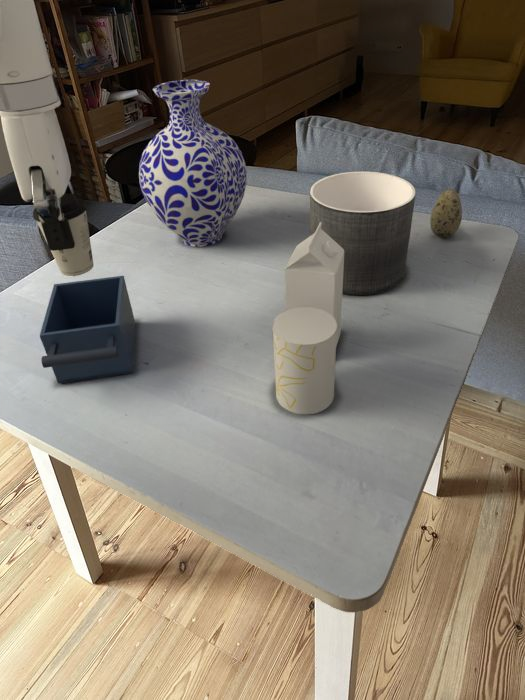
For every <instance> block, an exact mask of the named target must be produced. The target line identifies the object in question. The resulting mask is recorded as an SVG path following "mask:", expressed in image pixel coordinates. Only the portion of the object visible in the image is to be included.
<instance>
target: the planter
mask: <svg viewBox="0 0 525 700" xmlns="http://www.w3.org/2000/svg"><path fill="white" fill-rule="evenodd" d="M416 193H417V192H416V189H415V187H414V186H413V184H412V183H410V182H409V181H408V180H406V179H404V178H402V177H399V176H397V175H393V174H389V173H385V172H384V173H383V172H377V171H347V172H340V173H335V174H331V175H328V176H325V177H323V178H320V179H318V180H317V181H315V183H313V184H312V186H311V187H310V190H309V237H310V236H311V235H312V234H314V233H315V231H316V229H317V227H318V225H319V223H320V222H321V229H322V230H323V231H324V232H325V233H326V234H327V235H329V236H330V237H331V238H332V239H333V240H334V241H335V242H336V243H337V244H339V245H340V246H341V247H342V248H343V249H344V270H343V292H342V295H343V294H344V295H351V296H363V295H364V296H367V295H374V294H375V295H376V294H379V293H383V292H386V291H389V290H392V289H393V288H396V287H397V286H398V285H400V283H401V282H402V281H403V280H404V278H405V276H406V271H407V270H406V269H407V268H406V267H407V259H408V252H409V247H410V246H409V245H410V239H411V231H412V225H413V215H414V208H415V201H416Z"/></svg>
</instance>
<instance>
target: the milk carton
mask: <svg viewBox="0 0 525 700" xmlns="http://www.w3.org/2000/svg"><path fill="white" fill-rule="evenodd" d="M343 270H344V249H343V248H342V247H341V246H340V245H339V244H337V243H336V242H335V241H334V240H333V239H332V238H331V237H330V236H329V235H327V234H326V233H325V232H324V231H323V230H322V229H321V222H320V223H319V225H318V227H317V229H316V231H315V233H314V234H312V235H311V236H310V235H309V236H308V237H307V238H305V239H304V240H303V241H302V242H300V243H299V244H297V245H296V247H295V248H294V251H293V252H292V254H291V256H290V258H289V260H288V262H287V264H286V266H285V267H284V292H285V293H284V295H285V311H287V310H289V309H293V308H298V307H312V308H317V309H321V310H323V311H326V312H328V313H329V314H330V315H332V316H333V317H334V319H335V320H336V323H337V333H336V347H337V346H338V343H339V340H340V337H341V331H342V312H343V293H342V292H343Z"/></svg>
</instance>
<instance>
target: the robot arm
mask: <svg viewBox="0 0 525 700" xmlns="http://www.w3.org/2000/svg"><path fill="white" fill-rule="evenodd" d="M61 104H62V102H61V99H60V95H59V90H58V87H57V84H56V79H55V76H54V73H53V68H52V65H51V61H50V57H49V53H48V50H47V46H46V43H45V38H44V35H43V31H42V27H41V24H40V20H39V16H38V12H37V9H36V5H35V1H34V0H0V121H1V127H2V132H3V136H4V141H5V145H6V149H7V152H8V156H9V160H10V162H11V166H12V169H13V173H14V176H15V179H16V183H17V187H18V189H19V193H20V196H21V198H22V200H23V201H24V202H26V203H28V202H31V201H32V203H33V207H34V209H35V208H36V210H37V211H38V212H37V214H38V215H39V220H40V222H41V225H42V228H43V231H44V234H45V237H46V240H47V242H46V244H47V243H48V244H47V246H48V248H49V250H50V251H51V250H52V251H55V250H63V249H72V248H74V246H75V242H74V239H73V235H72V232H71V229H70V225H69V222H68V219H67V218H64V213H63V208H62V203H61V197H62V196H63V195H64V193H68V194H72V195H74V196H75V197H76V194H75V193H74V188H73V185H72V183H71V177H72V168H71V167H72V166H71V162H70V158H69V153H68V150H67V147H66V143H65V139H64V136H63V133H62V130H61V126H60V122H59V120H58V119H59V118H58V116H57V113H56V110H55V109H56V108H59V107H60V106H61ZM47 192H48V193H49V192H50V194H48V195H49V196H48V195H47ZM51 194H54V195H51ZM50 201H55V206H56V209H55V208H54V207H53V206H52V205H50V206H49V203H48V202H50ZM46 240H45V241H46Z"/></svg>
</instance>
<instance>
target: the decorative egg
mask: <svg viewBox="0 0 525 700" xmlns="http://www.w3.org/2000/svg"><path fill="white" fill-rule="evenodd" d="M462 220H463V207H462V202H461V198H460V196H459V194H458V192H457V191H456V190H454V189H452V188H448V189H446V190H444V191H443V192H442V193H441V194H440V195H439V197H438V198H437V200H436V202H435V203H434V206H433V208H432V211H431V214H430V218H429V225H430V229H431V231H432V233H433V234H434V236H437V237H438V238H442V239H446V238H450V237H452V236H454V235H455V234H456V233H457V232H458V230H459V228H460V227H461V223H462Z"/></svg>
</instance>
